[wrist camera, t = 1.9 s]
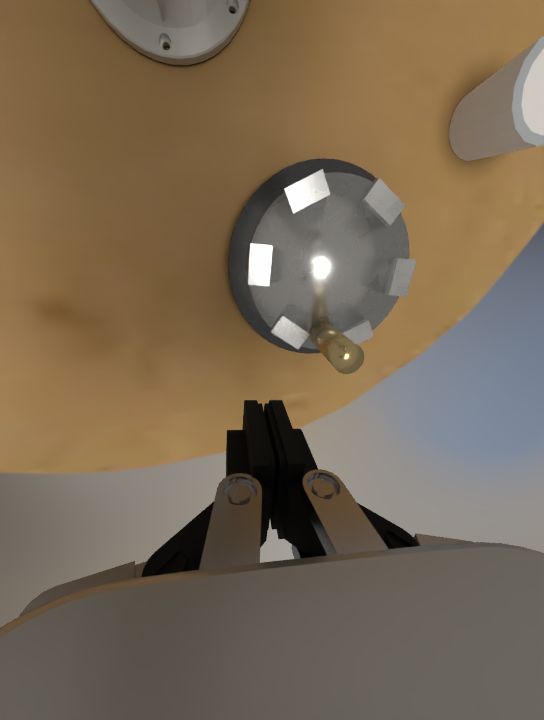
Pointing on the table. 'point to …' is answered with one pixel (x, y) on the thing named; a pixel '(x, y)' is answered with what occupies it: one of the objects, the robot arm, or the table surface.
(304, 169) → the dark grey round base
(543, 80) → the grey white-topped cylinder
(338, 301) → the grey tabbed disc
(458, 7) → the table surface
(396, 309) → the table surface
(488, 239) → the table surface
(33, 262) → the table surface
